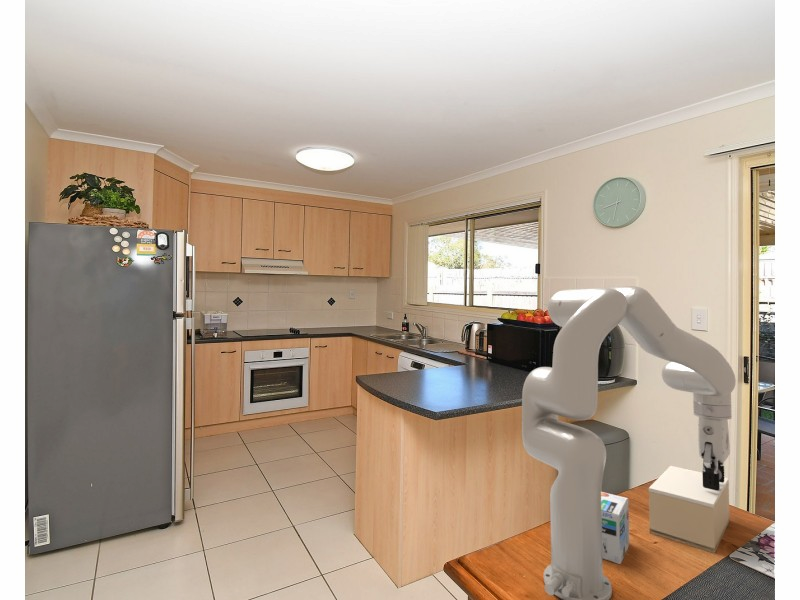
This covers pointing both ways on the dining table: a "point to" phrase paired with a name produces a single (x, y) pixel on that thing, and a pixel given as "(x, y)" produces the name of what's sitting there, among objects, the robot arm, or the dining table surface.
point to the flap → (687, 486)
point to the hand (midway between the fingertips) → (713, 484)
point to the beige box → (689, 520)
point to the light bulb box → (614, 527)
